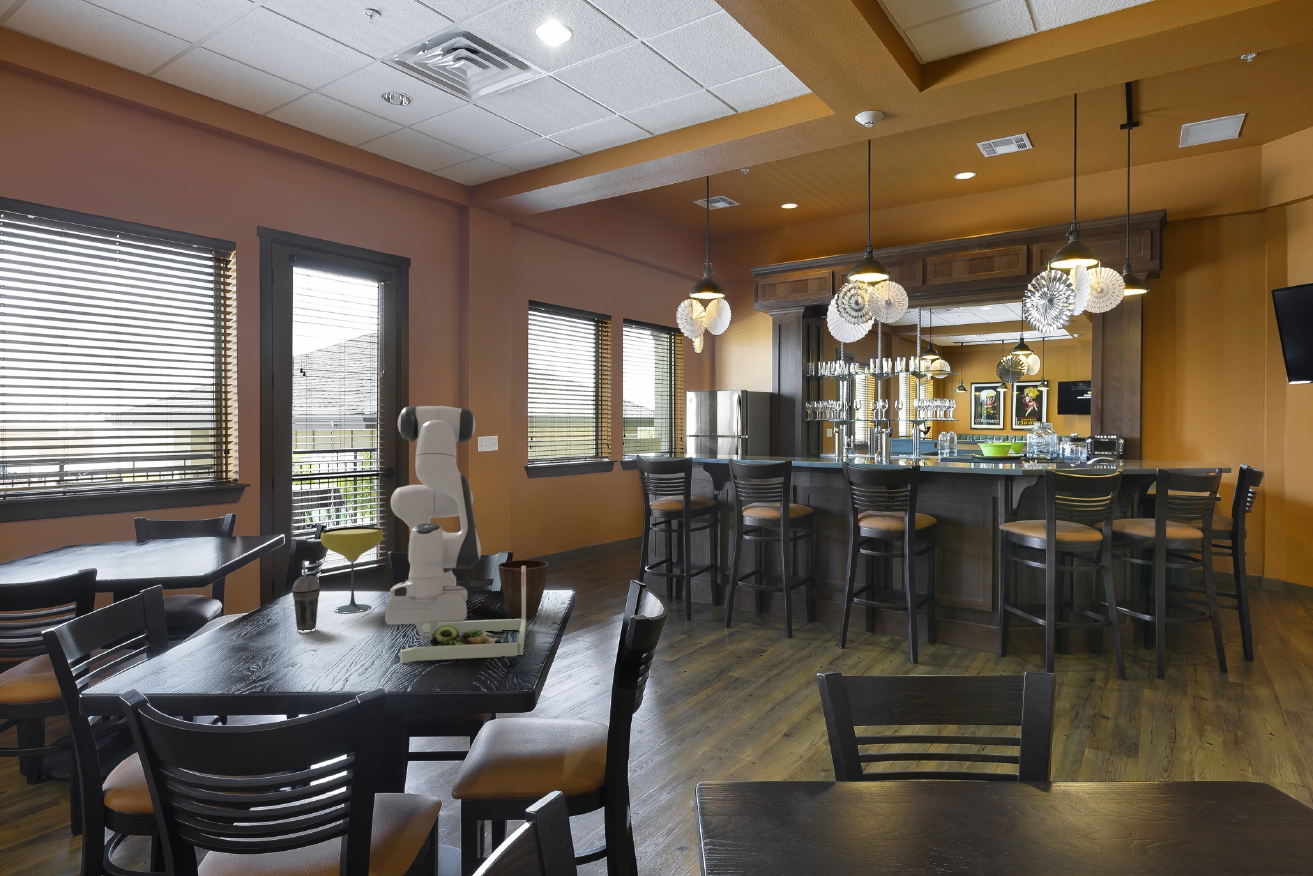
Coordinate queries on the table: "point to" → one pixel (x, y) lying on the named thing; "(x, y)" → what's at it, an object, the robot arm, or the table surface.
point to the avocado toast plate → (461, 637)
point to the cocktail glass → (352, 551)
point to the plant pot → (513, 585)
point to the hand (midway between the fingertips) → (426, 639)
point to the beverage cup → (306, 601)
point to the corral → (474, 649)
